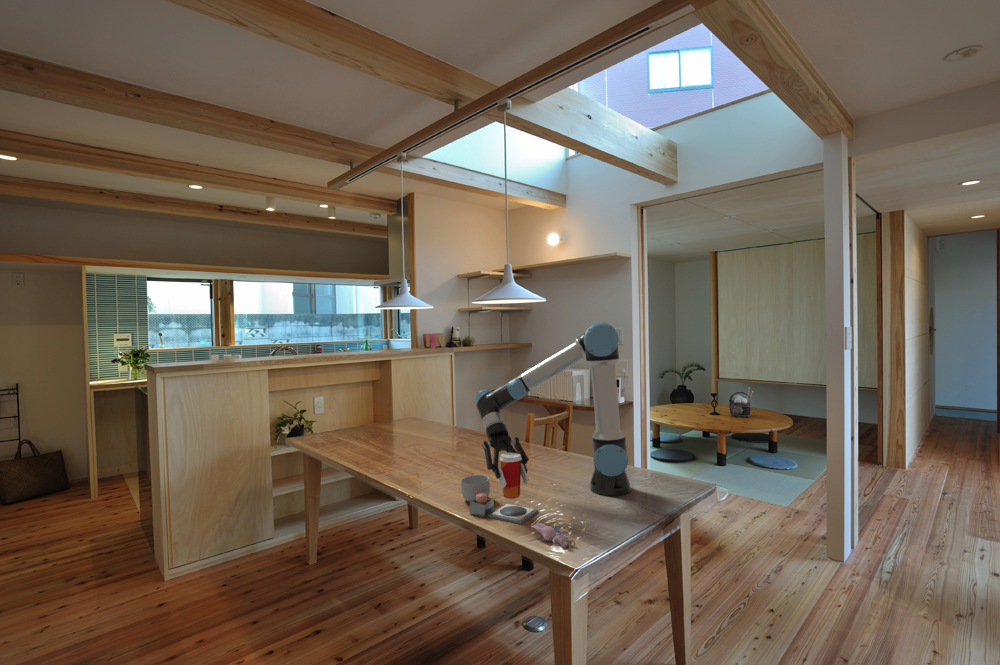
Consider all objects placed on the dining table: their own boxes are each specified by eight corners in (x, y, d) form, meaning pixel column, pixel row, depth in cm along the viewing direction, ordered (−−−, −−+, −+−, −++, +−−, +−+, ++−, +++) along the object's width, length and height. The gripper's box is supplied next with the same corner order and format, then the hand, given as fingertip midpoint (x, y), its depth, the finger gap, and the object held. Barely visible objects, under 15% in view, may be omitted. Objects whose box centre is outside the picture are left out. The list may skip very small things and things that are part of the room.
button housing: (494, 511, 165) (493, 499, 165) (484, 517, 159) (484, 505, 159) (479, 508, 168) (479, 496, 168) (470, 513, 163) (469, 502, 163)
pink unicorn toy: (578, 549, 137) (538, 527, 148) (580, 530, 137) (540, 509, 147) (565, 557, 133) (525, 533, 143) (567, 537, 132) (527, 515, 142)
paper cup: (509, 490, 167) (508, 450, 166) (527, 494, 162) (526, 454, 162) (495, 496, 161) (494, 455, 160) (513, 501, 156) (512, 459, 156)
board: (538, 511, 163) (538, 508, 163) (521, 524, 153) (521, 520, 153) (506, 505, 170) (505, 502, 170) (487, 517, 159) (487, 513, 159)
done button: (489, 502, 164) (489, 494, 164) (483, 506, 161) (483, 497, 161) (480, 501, 166) (480, 492, 166) (474, 504, 163) (473, 496, 163)
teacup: (486, 505, 170) (486, 483, 170) (457, 504, 172) (457, 482, 172) (494, 492, 183) (493, 472, 183) (467, 491, 185) (466, 471, 185)
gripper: (517, 430, 179) (538, 485, 165) (466, 436, 171) (484, 494, 156) (523, 418, 174) (546, 474, 160) (471, 424, 166) (490, 483, 151)
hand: (515, 484), depth 158 cm, fingers closed on paper cup, 8 cm apart
